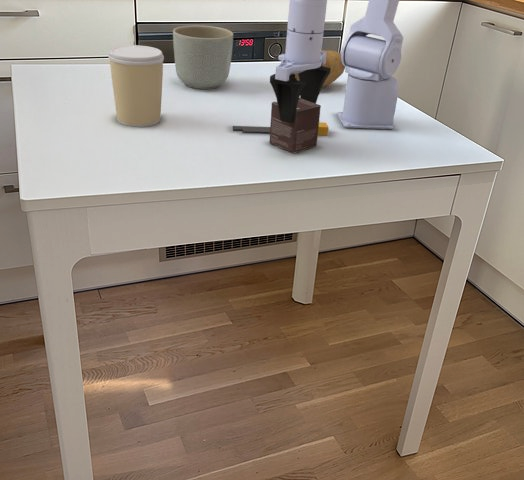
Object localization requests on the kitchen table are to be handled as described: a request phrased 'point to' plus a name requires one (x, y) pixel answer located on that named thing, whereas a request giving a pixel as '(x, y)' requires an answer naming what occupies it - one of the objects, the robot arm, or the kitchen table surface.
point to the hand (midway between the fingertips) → (297, 115)
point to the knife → (266, 130)
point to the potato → (331, 67)
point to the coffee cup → (137, 84)
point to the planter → (202, 55)
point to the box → (296, 127)
